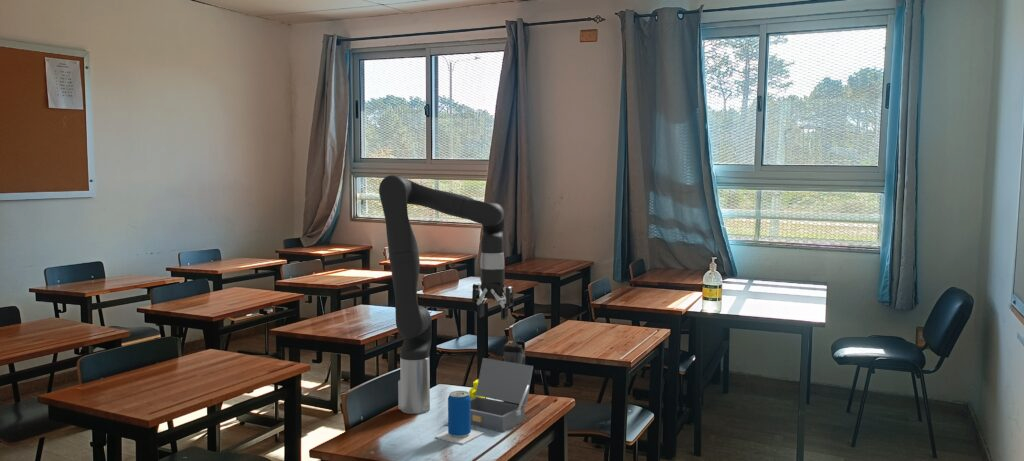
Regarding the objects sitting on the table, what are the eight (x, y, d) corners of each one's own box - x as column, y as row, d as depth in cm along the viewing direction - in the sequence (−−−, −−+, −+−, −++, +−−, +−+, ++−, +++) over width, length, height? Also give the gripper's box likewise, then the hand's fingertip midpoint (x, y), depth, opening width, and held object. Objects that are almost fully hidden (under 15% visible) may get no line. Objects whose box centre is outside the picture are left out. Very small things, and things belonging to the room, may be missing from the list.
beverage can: (474, 431, 209) (473, 391, 208) (465, 439, 203) (465, 398, 202) (453, 429, 211) (453, 389, 210) (444, 436, 205) (444, 395, 204)
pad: (435, 437, 205) (435, 436, 205) (456, 427, 214) (456, 426, 214) (463, 444, 200) (463, 443, 200) (483, 433, 208) (483, 432, 208)
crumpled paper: (460, 403, 237) (460, 380, 237) (479, 398, 243) (478, 375, 242) (471, 407, 233) (471, 383, 232) (490, 402, 238) (490, 379, 238)
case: (451, 421, 219) (451, 369, 218) (484, 406, 233) (484, 357, 232) (504, 433, 209) (504, 378, 207) (535, 416, 223) (535, 365, 222)
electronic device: (520, 407, 232) (520, 346, 230) (502, 406, 233) (502, 346, 232) (525, 399, 241) (525, 340, 240) (508, 398, 242) (508, 339, 241)
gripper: (467, 266, 226) (467, 317, 227) (504, 269, 218) (505, 322, 219) (480, 264, 232) (481, 313, 233) (518, 267, 224) (518, 318, 225)
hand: (492, 317), depth 226 cm, fingers open, 8 cm apart
